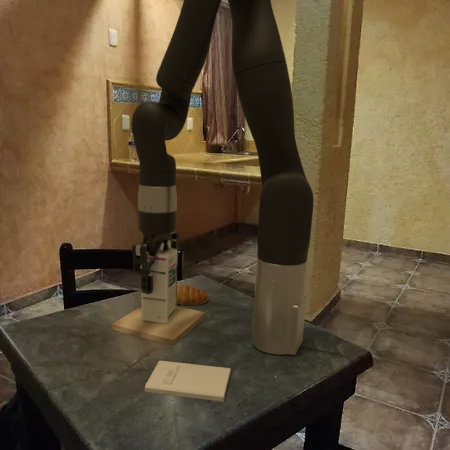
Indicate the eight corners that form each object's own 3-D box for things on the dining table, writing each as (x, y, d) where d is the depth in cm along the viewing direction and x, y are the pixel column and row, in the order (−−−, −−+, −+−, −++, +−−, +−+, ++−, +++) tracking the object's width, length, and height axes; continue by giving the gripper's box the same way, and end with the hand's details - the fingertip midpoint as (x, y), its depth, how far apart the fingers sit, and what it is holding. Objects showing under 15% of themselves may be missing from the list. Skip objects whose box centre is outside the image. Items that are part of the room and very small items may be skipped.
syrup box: (167, 324, 88) (169, 255, 85) (139, 320, 89) (141, 251, 86) (176, 313, 93) (179, 248, 90) (150, 310, 94) (152, 245, 91)
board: (205, 317, 95) (205, 312, 94) (173, 345, 82) (173, 339, 82) (150, 305, 100) (150, 300, 100) (111, 329, 87) (111, 324, 87)
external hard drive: (223, 405, 66) (144, 395, 68) (230, 375, 74) (159, 367, 76) (223, 396, 66) (144, 385, 67) (231, 367, 74) (159, 358, 75)
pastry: (208, 297, 107) (208, 282, 106) (207, 308, 100) (207, 292, 99) (170, 295, 107) (170, 280, 106) (166, 306, 100) (166, 290, 99)
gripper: (154, 215, 78) (153, 302, 82) (191, 204, 91) (189, 279, 95) (119, 211, 81) (120, 295, 84) (160, 200, 94) (159, 274, 97)
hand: (156, 286), depth 90 cm, fingers open, 6 cm apart
